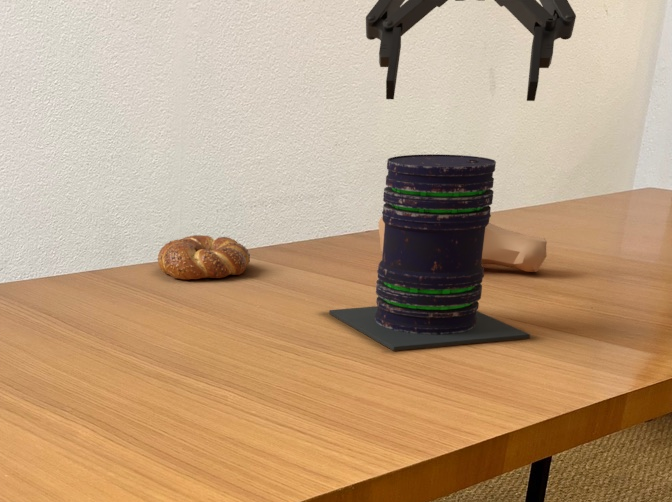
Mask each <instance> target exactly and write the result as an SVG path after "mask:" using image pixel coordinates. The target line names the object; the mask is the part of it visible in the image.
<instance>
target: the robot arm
mask: <svg viewBox="0 0 672 502" xmlns="http://www.w3.org/2000/svg"><path fill="white" fill-rule="evenodd" d="M405 1H406V0H378V1H377V2H376V3H375V4H374V5H373V7H372V8H371V9H370V11H369V12H368V13H367V15H366V16H365V37H366V39H368V40H371V41H372V40H375V39H378V40H379V41H380V43H379V50H378V64H379V67H380V68H387V70H386V71H387V73H386V79H385V86H386V87H385V100H394V99H395V93H396V85H397V78H398V70H399V64H400V57H401V50H402V49H401V48H402V36H403V35H404V34H406V32H408V31H409V30H411V29H412V28H413V27H414V26H415V25H417V24H418V23H419V22H420V21H421V20H422V19H424V18H425V17H426V16H427V15H428V14H430V13H431V12H432V11H433V10H434V9H436V8H437V7H438V8H441V7H442V6H443V5H445V3H447V2H448V1H449V0H407V1H406V2H405ZM454 1H455V2H458V1H459V2H463V1H464V2H465V0H454ZM477 1H481V2H482V1H483V2H484V0H477ZM493 1H494V2H495V3H496V4H497V5H498V6H499V7H501V8H502V7H504V8H505V9H507V11H508V12H509V13H510V14H511V15H512V16H513V17H514V18H515V19H516V20H517V21H518V22H519V23H520V24H521V25H522V26H523V27H524V28H525V29H526V30H527V31H528V32H529V33H530V34H531V35H532V36H533V38H532V43H531V49H530V59H529V60H530V61H529V70H528V71H529V72H528V73H529V74H528V83H527V84H528V85H527V93H526V101H527V102H535V101H536V96H537V92H538V91H537V90H538V85H539V79H540V69H549V68H550V66H551V64H552V61H553V56H554V45H555V41H557V40H558V39H561V40H570V39H571V38H572V36H573V32H574V28H575V24H576V19H577V15H576V13H575V11H574V9H573V8H572V5H571V4H570V2H569V0H538V1H539V2H538V1H537V0H493Z"/></svg>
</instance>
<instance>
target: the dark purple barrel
mask: <svg viewBox="0 0 672 502" xmlns="http://www.w3.org/2000/svg"><path fill="white" fill-rule="evenodd" d="M386 161H387V163H386V169H387V174H386V176H385V186H386V187H384V188H383V195H382V196H383V198H382V201H383V202H384V203H383V206H382V208H383V209H382V212H381V215H382V214H383V218H382V220H383V222H384V223H385V230H384V242H383V253H382V254H381V257H382V258H381V259H382V260H380V262H379V263H378V266H377V267H378V268H377V270H376V274H377V280H376V285H375V295H376V296H377V297H376V300H375V301H376V306H378V308H377V311H376V314H375V321H376V322H377V323H378V324H379V325H381V326H383V327H386V328H389V329H392V330H396V331H401V332H407V333H415V334H433V335H437V334H454V333H460V332H465V331H469V330H471V329H473V328H474V327H475V326H476V323H477V317H476V311H478V309H479V305H480V303H479V301H480V300H481V299H482V292H483V285H482V283H483V278H484V277H485V274H484V271H485V270H484V269H485V268H484V266H483V264H481V260H482V252H483V244H484V235H485V227H486V226H487V225H488V224H489V223H490V218H491V217H492V215H491V209H492V207H491V205H492V204H493V200H494V190H493V187H494V181H495V179H494V177H493V176H494V172H496V164H497V161H496V160H495V159H492V158H488V157H483V156H477V155H476V156H475V155H465V154H464V155H463V154H440V153H439V154H407V155H398V156H392V157H389V158H387V160H386Z"/></svg>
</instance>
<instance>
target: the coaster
mask: <svg viewBox="0 0 672 502" xmlns="http://www.w3.org/2000/svg"><path fill="white" fill-rule="evenodd" d="M377 308H378V306H377V305H375V306H363V307H354V308H353V307H351V308H338V309H329V315H330V316H332V317H334V318H336V319H338V320H339V321H341V322H343V323H344V324H346V325H348V326H349V327H351V328H353V329H355V330H356V331H359V332H360V333H362V334H364V335H365V336H367V337H369V338H370V339H372V340H374V341H376V342H378V343H379V344H381V345H382V346H384V347H386V348H388V349H390V350H391V351H393V352H395V351H408V350H419V349H430V348H438V347H449V346H451V347H452V346H460V345H471V344H482V343H493V342H494V343H495V342H504V341H514V340H525V339H530V336H531V333H528V332H526V331H524V330H521V329H519V328H517V327H515V326H512V325H510V324H507V323H505V322H503V321H501V320H498V319H496V318H494V317H491V316H490V315H488V314H485V313H483V312H480V311H478V310H477V311H476V317H477V323H476V326H475V327H474V328H473V329H471V330H469V331H465V332H460V333H454V334H437V335H433V334H415V333H407V332H401V331H396V330H392V329H389V328H386V327H383V326H381V325H379V324H378V323H377V322H376V321H375V314H376V311H377Z"/></svg>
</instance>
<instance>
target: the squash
mask: <svg viewBox="0 0 672 502" xmlns="http://www.w3.org/2000/svg"><path fill="white" fill-rule="evenodd" d="M382 218H383V214H382V213H381V216H380V218H379V220H378V232H379V233H378V234H379V243H380V253H382V254H383V242H384V230H385V223H384V222H383V220H382ZM547 243H548V241H547V239H546V237H540V236H535V235H529V234H524V233H522V232H518V231H514V230H512V229H511V230H510V229H507V228H503V227H501V226H499V225H496V224H493V223H491V222H489V224H488V225H487V226H486V227H485V235H484V244H483V252H482V260H481V265H493V266H494V265H495V266H502V267H507V268H514V269H518V270H521V271H524V272H527V273H529V272H532V273H533V272H536V273H537V272H538V271H539V269H540V268H541V266H542V265H543V263H544V261H545V260H546V258H547V255H548V254H547Z"/></svg>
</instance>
